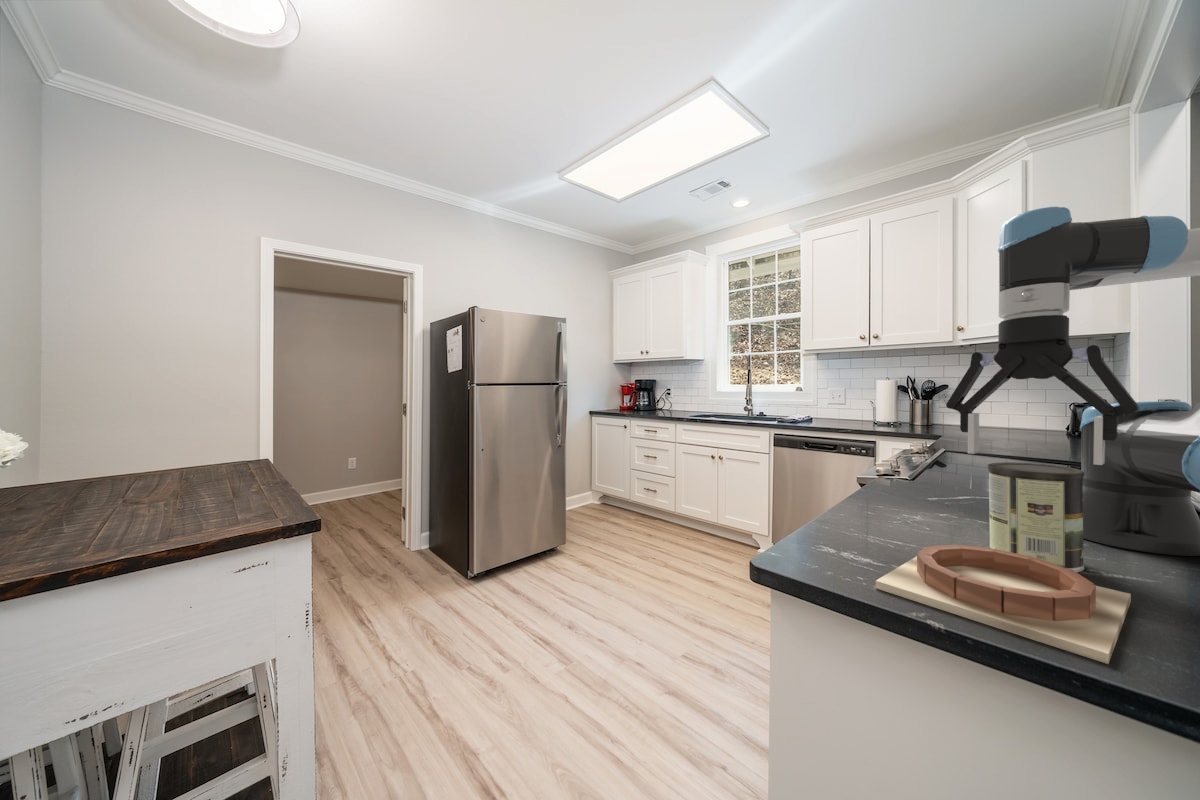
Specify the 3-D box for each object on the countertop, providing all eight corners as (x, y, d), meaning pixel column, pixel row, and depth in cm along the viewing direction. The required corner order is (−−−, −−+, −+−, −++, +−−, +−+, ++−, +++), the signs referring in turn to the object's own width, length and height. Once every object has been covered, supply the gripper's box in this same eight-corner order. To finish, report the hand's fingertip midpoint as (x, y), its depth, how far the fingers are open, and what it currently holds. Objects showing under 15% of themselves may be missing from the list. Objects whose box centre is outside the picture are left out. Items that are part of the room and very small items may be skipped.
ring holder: (931, 553, 69) (931, 531, 69) (1130, 602, 52) (1130, 573, 52) (875, 588, 57) (875, 561, 57) (1108, 664, 41) (1108, 627, 41)
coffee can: (1046, 549, 70) (1046, 462, 69) (1106, 576, 60) (1106, 474, 59) (972, 545, 72) (972, 461, 71) (1019, 571, 62) (1018, 472, 61)
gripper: (924, 326, 73) (923, 451, 73) (1167, 299, 53) (1164, 472, 53) (940, 329, 77) (939, 447, 78) (1170, 306, 57) (1168, 466, 57)
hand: (1030, 458), depth 65 cm, fingers open, 13 cm apart
